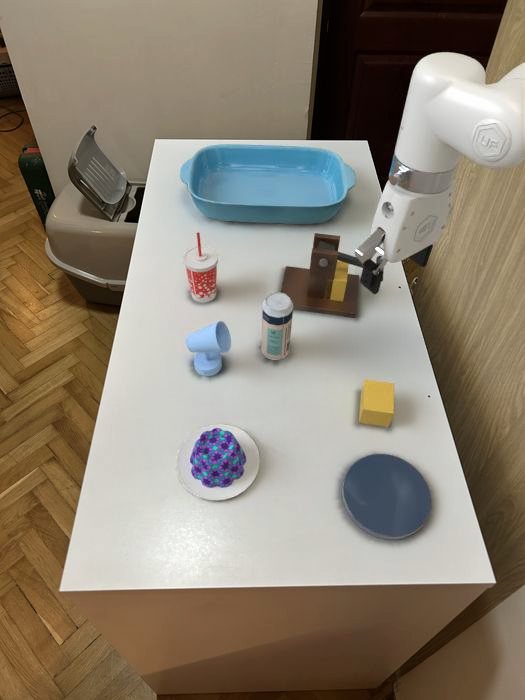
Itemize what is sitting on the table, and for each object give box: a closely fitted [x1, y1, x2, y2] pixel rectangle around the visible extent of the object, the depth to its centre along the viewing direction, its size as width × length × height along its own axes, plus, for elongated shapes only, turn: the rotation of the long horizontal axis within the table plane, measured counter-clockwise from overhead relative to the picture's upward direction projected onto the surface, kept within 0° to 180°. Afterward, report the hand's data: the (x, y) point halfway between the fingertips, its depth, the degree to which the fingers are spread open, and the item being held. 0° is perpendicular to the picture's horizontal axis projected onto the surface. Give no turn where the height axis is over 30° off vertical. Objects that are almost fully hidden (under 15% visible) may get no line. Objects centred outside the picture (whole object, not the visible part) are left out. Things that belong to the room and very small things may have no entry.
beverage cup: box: [182, 232, 219, 303], centre depth 93 cm, size 6×6×14 cm
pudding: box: [175, 423, 261, 501], centre depth 75 cm, size 12×12×5 cm
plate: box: [341, 453, 432, 541], centre depth 73 cm, size 12×12×1 cm
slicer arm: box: [317, 241, 385, 283], centre depth 91 cm, size 12×6×2 cm, turn 80°
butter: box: [324, 260, 350, 301], centre depth 95 cm, size 4×5×5 cm
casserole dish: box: [179, 143, 357, 225], centre depth 113 cm, size 37×22×7 cm, turn 89°
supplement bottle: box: [260, 291, 294, 361], centre depth 85 cm, size 5×5×12 cm
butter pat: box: [358, 378, 395, 428], centre depth 81 cm, size 4×6×4 cm
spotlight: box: [185, 320, 232, 377], centre depth 84 cm, size 5×10×7 cm
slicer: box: [280, 232, 360, 319], centre depth 94 cm, size 14×10×12 cm
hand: (393, 274), depth 77 cm, fingers open, 9 cm apart
